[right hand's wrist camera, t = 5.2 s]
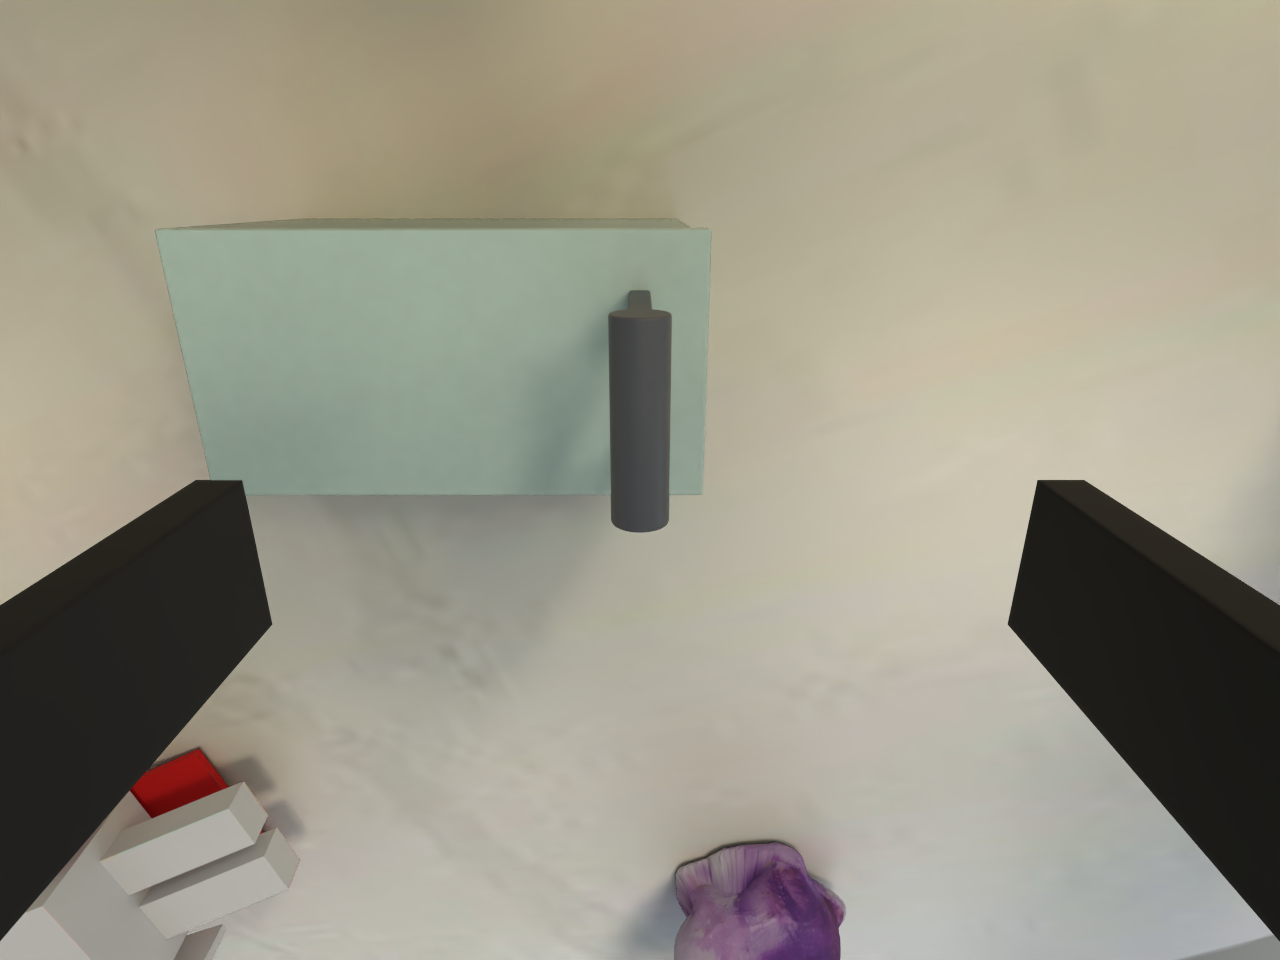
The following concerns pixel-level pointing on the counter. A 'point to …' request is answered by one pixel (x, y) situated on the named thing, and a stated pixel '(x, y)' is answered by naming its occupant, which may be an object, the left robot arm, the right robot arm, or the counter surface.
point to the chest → (459, 223)
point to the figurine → (756, 907)
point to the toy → (158, 873)
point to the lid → (448, 360)
